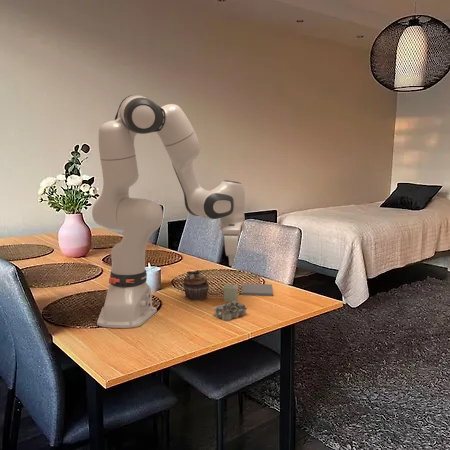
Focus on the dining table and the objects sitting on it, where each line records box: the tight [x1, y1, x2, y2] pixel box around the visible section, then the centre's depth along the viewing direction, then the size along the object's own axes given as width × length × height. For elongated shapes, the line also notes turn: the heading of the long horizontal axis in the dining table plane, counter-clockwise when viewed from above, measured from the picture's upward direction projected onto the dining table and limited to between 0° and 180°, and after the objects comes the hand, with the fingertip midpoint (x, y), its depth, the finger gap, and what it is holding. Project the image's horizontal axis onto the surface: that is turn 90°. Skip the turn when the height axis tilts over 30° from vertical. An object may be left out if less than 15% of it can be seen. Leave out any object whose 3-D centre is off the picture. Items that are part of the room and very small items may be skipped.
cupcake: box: [182, 269, 210, 302], centre depth 172 cm, size 10×10×10 cm
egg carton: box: [212, 300, 249, 322], centre depth 154 cm, size 11×8×4 cm
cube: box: [223, 283, 239, 302], centre depth 170 cm, size 5×5×5 cm
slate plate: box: [241, 283, 274, 297], centre depth 181 cm, size 12×12×1 cm
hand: (232, 262), depth 169 cm, fingers open, 8 cm apart
